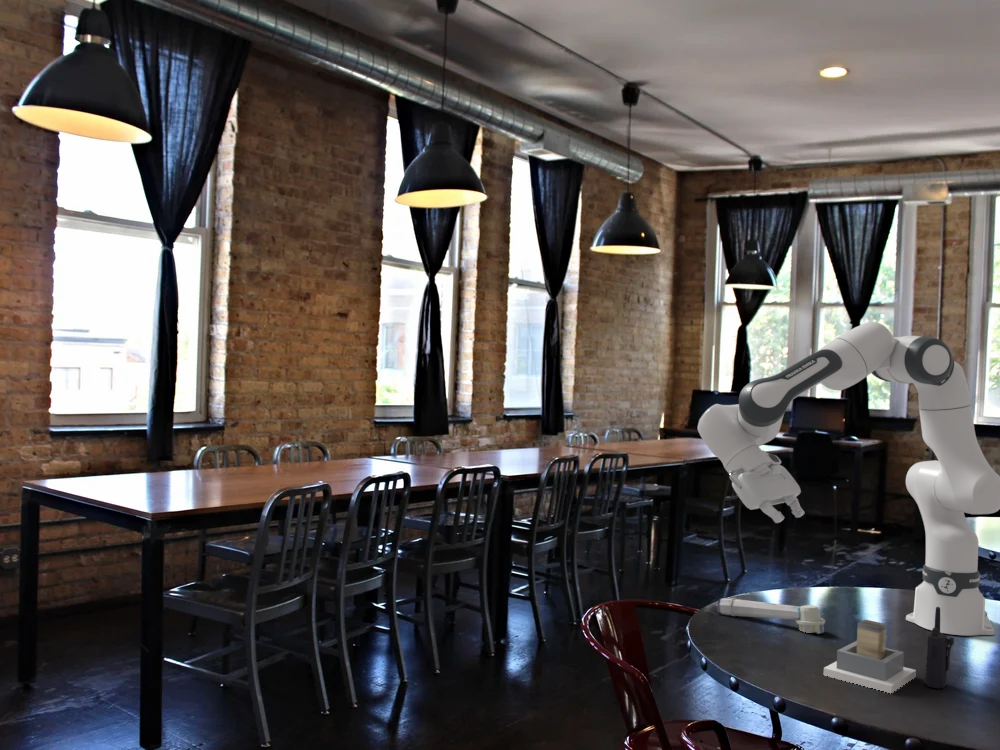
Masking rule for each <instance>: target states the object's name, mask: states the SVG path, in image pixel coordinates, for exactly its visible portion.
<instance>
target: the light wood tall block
mask: <svg viewBox="0 0 1000 750" xmlns="http://www.w3.org/2000/svg"><path fill="white" fill-rule="evenodd" d="M856 631H857V633H856V641H857V654H860V655H864V656H868V657H872V658H876V659H880V660H883V659H884V658H885V648H886V636H887V635H886V634H887V633H886V632H887V623H883V622H880V621H879V622H878V621H874V620H869V619H864V620H861V621H859V622H857V629H856Z"/></svg>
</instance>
